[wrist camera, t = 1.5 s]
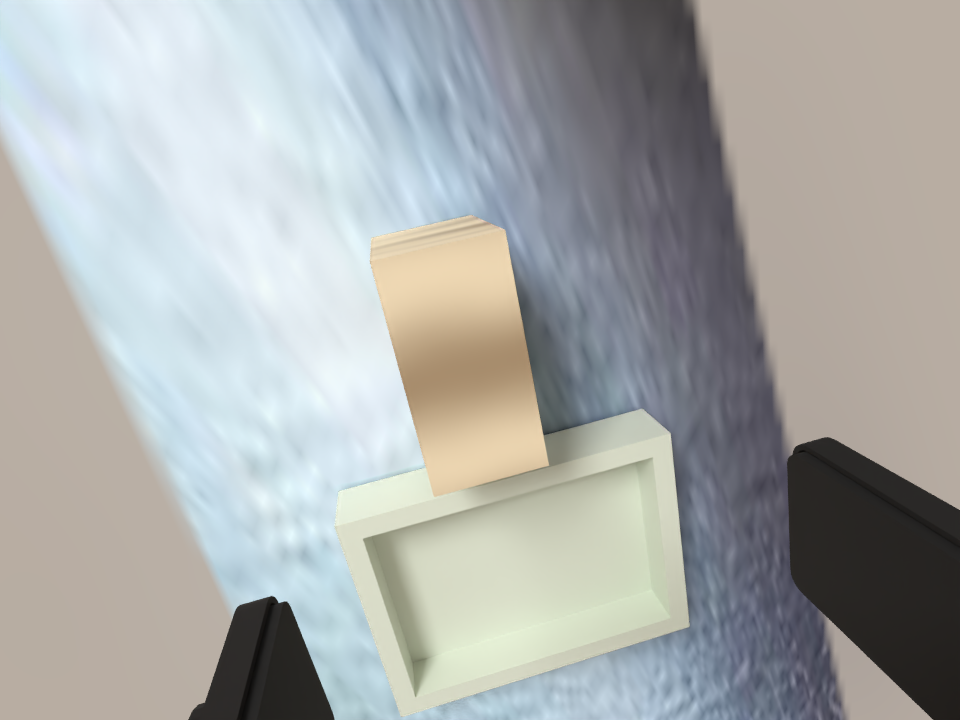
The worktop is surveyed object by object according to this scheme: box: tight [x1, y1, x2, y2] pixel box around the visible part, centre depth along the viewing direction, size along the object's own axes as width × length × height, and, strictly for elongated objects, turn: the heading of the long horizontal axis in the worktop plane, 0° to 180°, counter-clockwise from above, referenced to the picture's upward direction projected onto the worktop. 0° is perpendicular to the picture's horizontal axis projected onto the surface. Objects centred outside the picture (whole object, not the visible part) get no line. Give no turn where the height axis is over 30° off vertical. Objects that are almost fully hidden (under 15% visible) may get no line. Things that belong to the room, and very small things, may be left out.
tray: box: [334, 409, 690, 717], centre depth 29 cm, size 12×16×3 cm
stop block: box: [370, 215, 549, 497], centre depth 23 cm, size 9×4×7 cm, turn 12°
